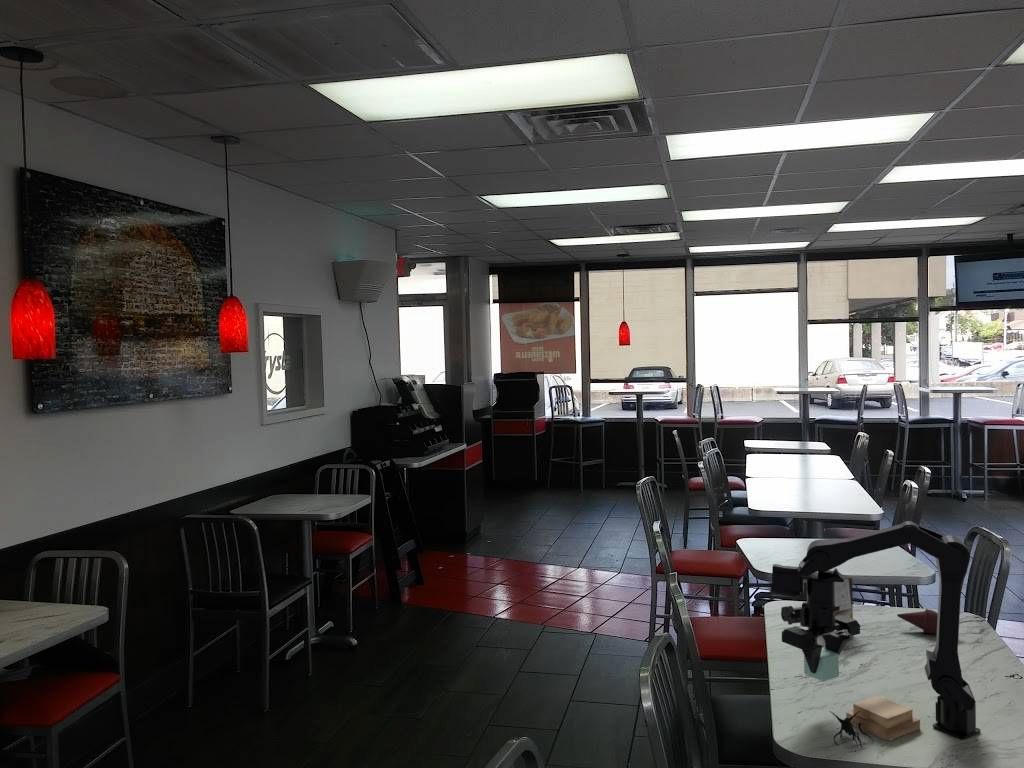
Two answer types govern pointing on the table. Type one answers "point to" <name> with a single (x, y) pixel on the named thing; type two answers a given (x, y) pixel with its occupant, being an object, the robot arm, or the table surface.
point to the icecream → (922, 620)
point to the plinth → (884, 730)
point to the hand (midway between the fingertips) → (821, 670)
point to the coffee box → (844, 598)
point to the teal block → (825, 666)
